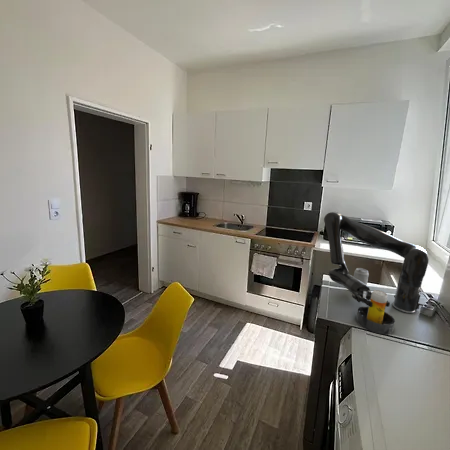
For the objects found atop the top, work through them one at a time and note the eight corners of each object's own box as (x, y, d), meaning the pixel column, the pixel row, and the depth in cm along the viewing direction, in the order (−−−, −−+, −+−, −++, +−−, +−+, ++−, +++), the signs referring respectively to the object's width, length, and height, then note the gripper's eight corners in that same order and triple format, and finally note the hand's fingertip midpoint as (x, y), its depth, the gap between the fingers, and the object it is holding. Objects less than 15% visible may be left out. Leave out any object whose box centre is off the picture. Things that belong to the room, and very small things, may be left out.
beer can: (380, 328, 108) (387, 297, 105) (365, 322, 112) (371, 292, 108) (382, 322, 113) (388, 292, 109) (367, 317, 116) (373, 288, 113)
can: (349, 284, 151) (353, 266, 149) (362, 286, 150) (366, 268, 148) (354, 290, 144) (357, 271, 141) (367, 292, 143) (371, 273, 140)
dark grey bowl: (377, 314, 120) (378, 306, 119) (401, 333, 106) (403, 324, 105) (349, 314, 118) (351, 306, 117) (370, 334, 104) (372, 325, 103)
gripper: (345, 281, 123) (367, 297, 107) (371, 280, 125) (396, 297, 109) (342, 294, 124) (364, 312, 109) (368, 294, 126) (393, 312, 110)
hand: (380, 305), depth 109 cm, fingers open, 8 cm apart
